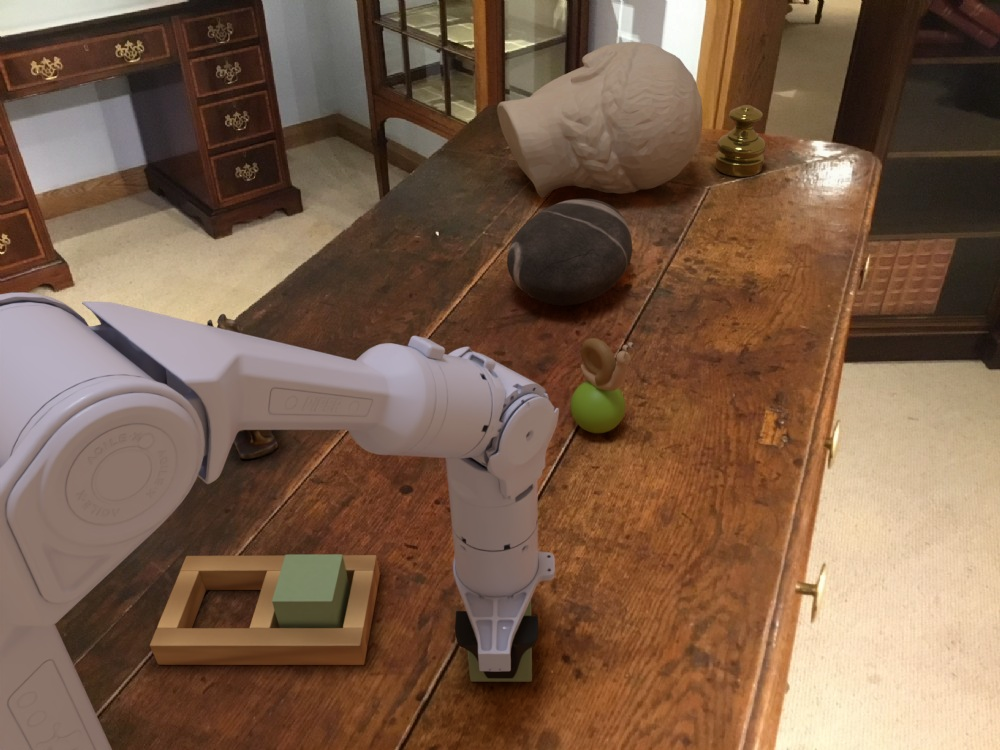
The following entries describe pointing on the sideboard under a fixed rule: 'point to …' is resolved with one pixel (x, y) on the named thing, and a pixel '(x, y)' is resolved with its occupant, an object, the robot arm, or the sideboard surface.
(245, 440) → the figurine
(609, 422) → the snail figurine
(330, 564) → the green cubic block
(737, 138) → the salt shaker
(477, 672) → the olive green cubic block
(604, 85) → the bust
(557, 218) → the decorative stone
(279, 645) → the backing frame
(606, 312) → the sideboard surface
